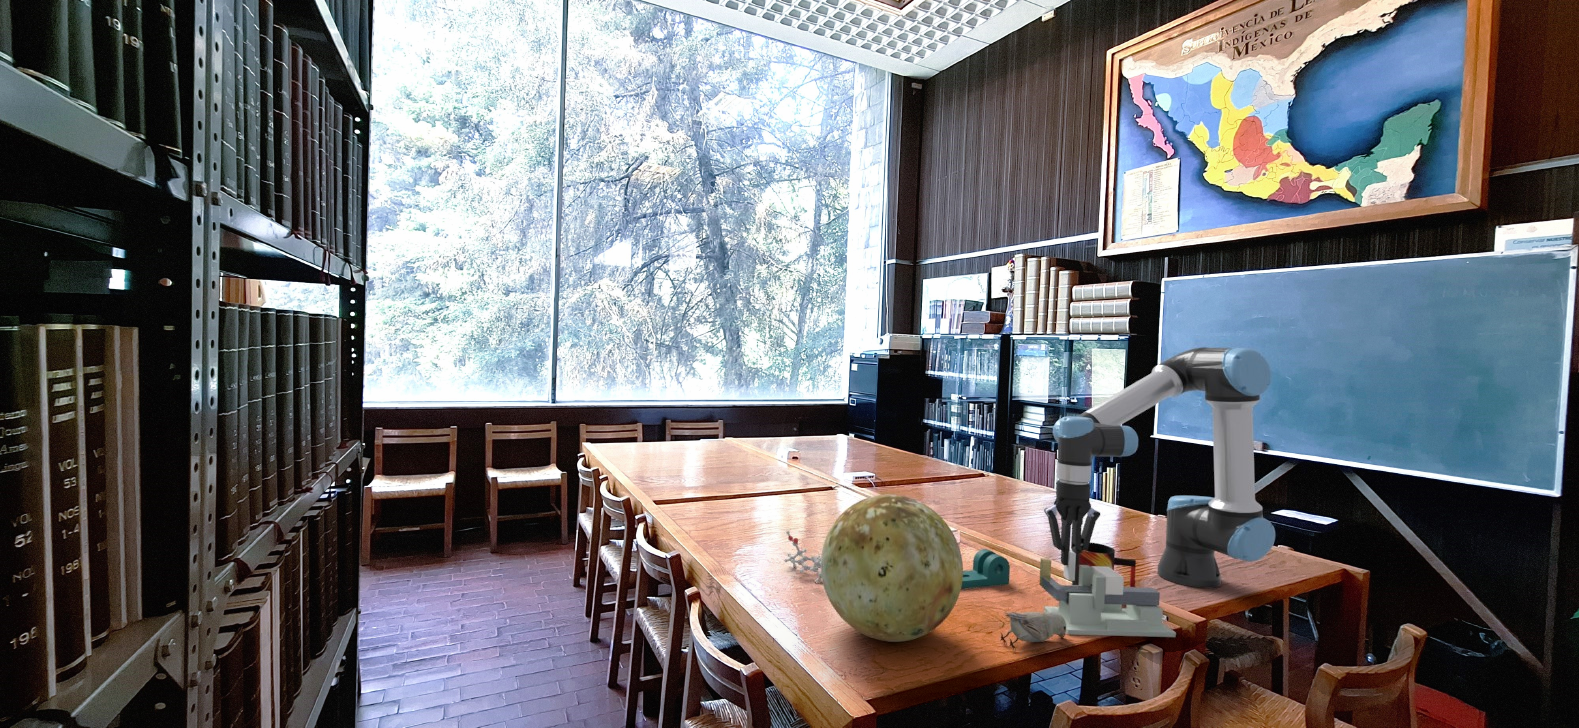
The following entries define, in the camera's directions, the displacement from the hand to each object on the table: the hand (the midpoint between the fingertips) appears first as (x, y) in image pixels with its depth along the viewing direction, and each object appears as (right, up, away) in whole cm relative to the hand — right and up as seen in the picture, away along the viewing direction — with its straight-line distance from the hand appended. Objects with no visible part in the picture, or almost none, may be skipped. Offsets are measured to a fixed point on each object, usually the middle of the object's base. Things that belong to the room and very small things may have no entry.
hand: (1069, 578), depth 159 cm
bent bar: (+5, -3, -4) cm, 7 cm away
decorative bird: (-15, -8, -19) cm, 25 cm away
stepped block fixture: (+6, -8, -7) cm, 12 cm away
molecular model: (-62, -5, +18) cm, 65 cm away
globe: (-46, -7, -17) cm, 50 cm away
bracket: (-19, -7, +16) cm, 26 cm away
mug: (+13, -8, +12) cm, 19 cm away
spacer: (+5, 0, -8) cm, 9 cm away
